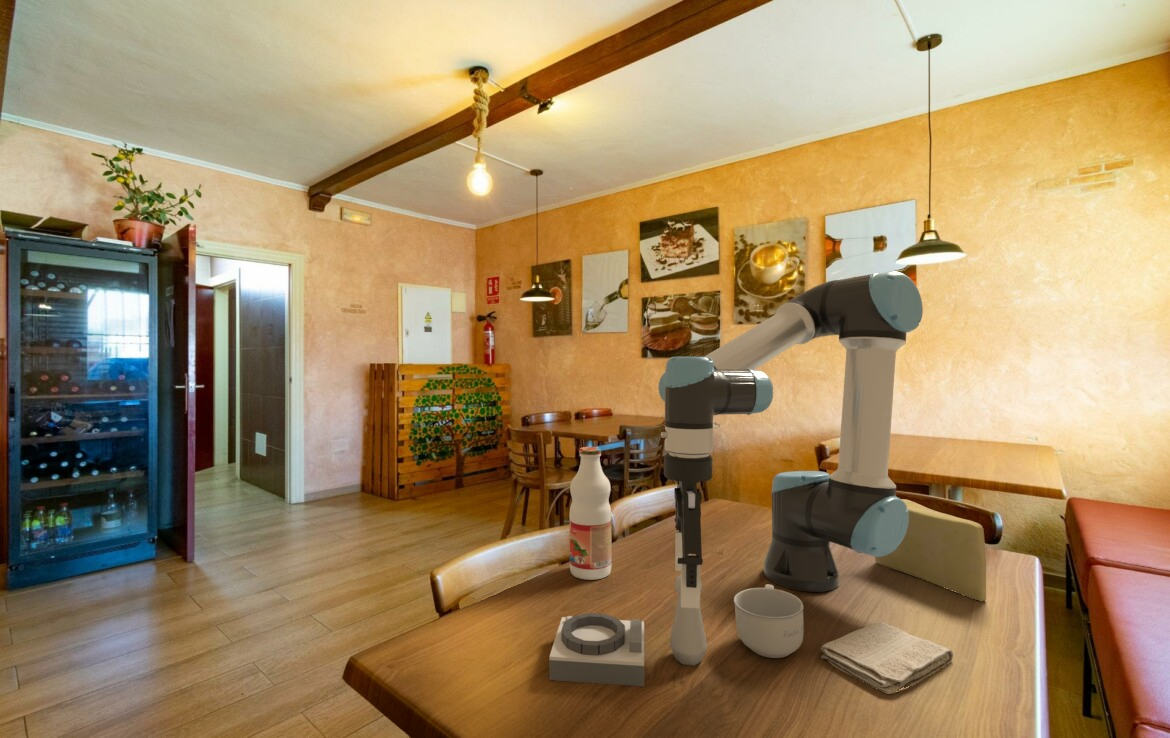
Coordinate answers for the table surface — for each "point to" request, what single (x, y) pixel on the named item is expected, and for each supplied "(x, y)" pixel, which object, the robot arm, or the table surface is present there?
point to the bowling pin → (687, 632)
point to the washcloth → (886, 657)
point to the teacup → (769, 621)
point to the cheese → (942, 551)
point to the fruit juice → (590, 519)
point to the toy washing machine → (598, 650)
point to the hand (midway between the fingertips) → (686, 587)
